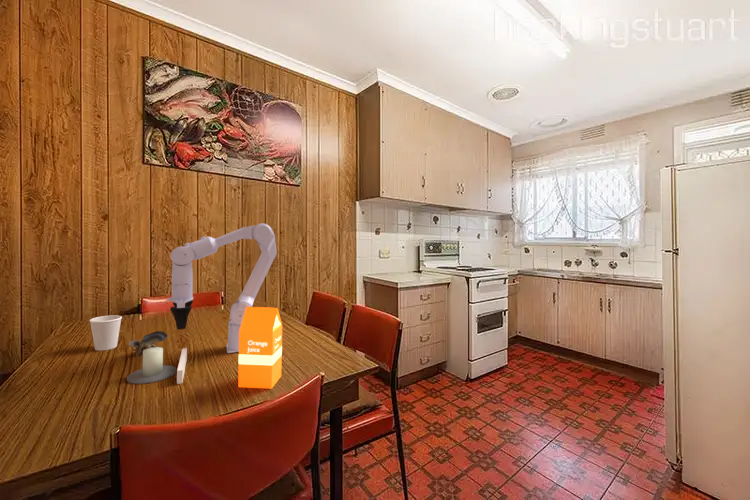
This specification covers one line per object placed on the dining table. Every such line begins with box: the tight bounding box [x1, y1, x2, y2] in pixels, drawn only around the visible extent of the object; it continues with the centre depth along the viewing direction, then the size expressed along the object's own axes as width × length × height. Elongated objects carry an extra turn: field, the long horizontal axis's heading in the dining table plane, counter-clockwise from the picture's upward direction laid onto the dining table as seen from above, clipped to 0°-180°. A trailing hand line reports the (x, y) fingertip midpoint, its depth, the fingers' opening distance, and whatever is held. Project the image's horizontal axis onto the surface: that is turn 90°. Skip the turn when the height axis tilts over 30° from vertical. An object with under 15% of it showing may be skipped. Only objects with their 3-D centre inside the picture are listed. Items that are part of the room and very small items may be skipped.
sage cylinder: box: [142, 346, 164, 377], centre depth 85 cm, size 4×4×6 cm
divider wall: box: [176, 347, 188, 385], centre depth 89 cm, size 1×18×4 cm, turn 28°
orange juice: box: [237, 306, 283, 390], centre depth 83 cm, size 8×9×20 cm
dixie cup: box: [89, 314, 123, 352], centre depth 105 cm, size 8×8×10 cm
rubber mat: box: [126, 364, 177, 385], centre depth 85 cm, size 11×11×1 cm
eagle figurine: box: [128, 330, 169, 357], centre depth 102 cm, size 8×7×9 cm
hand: (182, 325), depth 100 cm, fingers open, 7 cm apart
